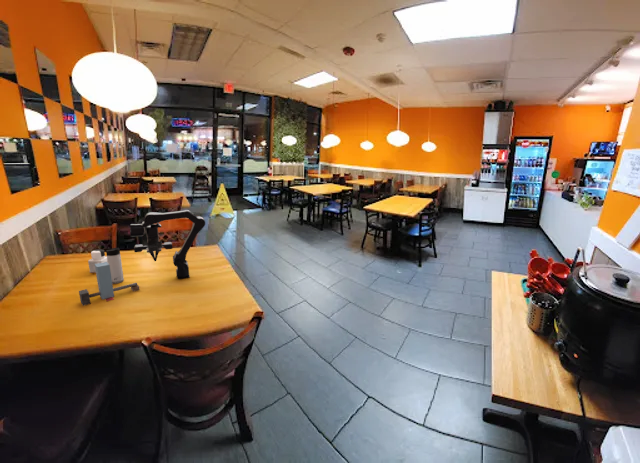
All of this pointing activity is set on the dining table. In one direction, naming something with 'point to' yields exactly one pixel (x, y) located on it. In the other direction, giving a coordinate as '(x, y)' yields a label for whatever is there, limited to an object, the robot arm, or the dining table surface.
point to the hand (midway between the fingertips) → (155, 261)
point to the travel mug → (115, 265)
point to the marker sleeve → (104, 280)
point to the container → (96, 259)
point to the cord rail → (86, 296)
